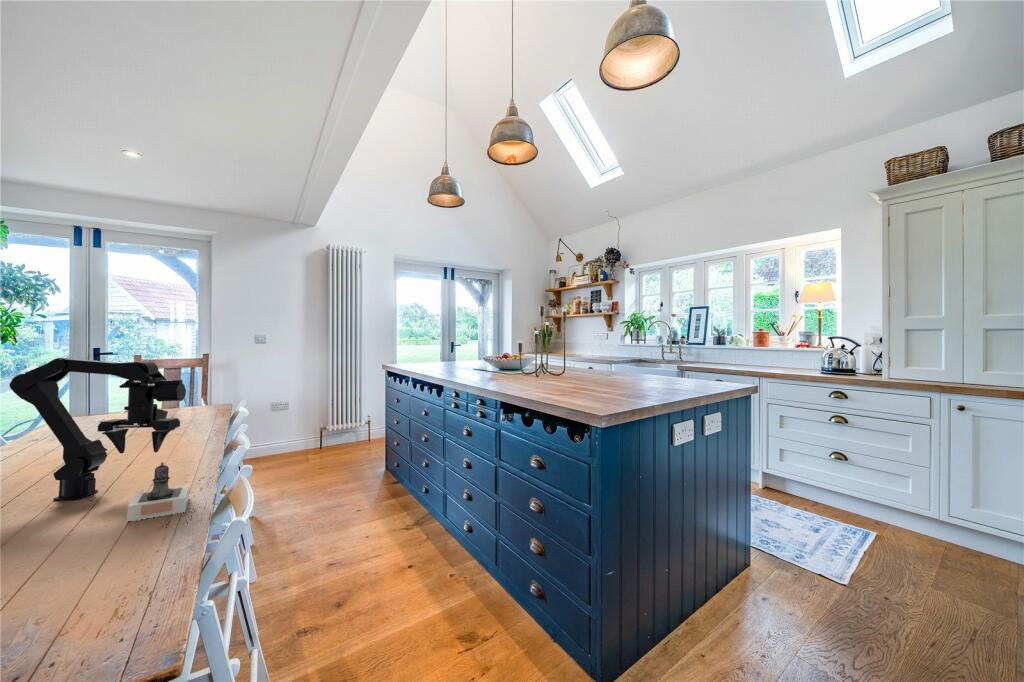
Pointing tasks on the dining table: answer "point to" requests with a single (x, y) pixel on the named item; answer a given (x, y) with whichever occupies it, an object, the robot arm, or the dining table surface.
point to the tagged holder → (158, 505)
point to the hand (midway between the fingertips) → (139, 452)
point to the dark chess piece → (160, 484)
